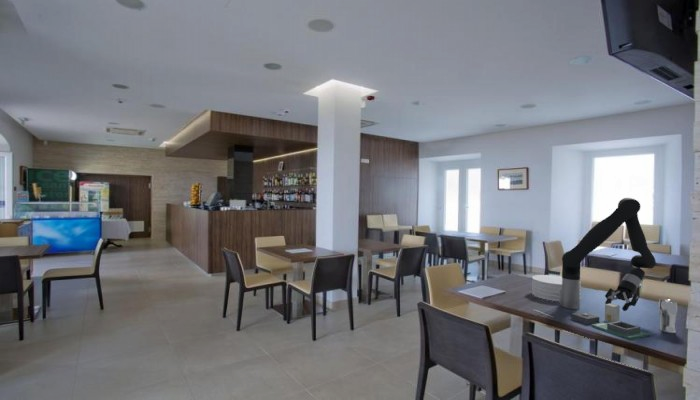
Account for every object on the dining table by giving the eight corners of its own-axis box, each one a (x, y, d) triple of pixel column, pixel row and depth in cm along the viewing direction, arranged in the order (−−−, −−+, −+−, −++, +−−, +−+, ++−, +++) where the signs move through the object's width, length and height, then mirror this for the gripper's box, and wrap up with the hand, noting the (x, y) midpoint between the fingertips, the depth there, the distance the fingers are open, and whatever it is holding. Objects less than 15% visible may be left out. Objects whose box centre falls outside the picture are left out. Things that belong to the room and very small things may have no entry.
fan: (571, 319, 194) (571, 312, 194) (582, 317, 197) (583, 310, 197) (587, 324, 186) (587, 317, 186) (599, 322, 189) (599, 315, 189)
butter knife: (536, 309, 210) (532, 309, 209) (578, 325, 185) (574, 325, 184) (536, 310, 210) (532, 310, 209) (578, 326, 185) (574, 326, 184)
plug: (603, 321, 191) (604, 304, 191) (610, 320, 193) (610, 303, 193) (612, 324, 187) (613, 306, 187) (619, 322, 189) (619, 305, 189)
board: (591, 326, 183) (591, 319, 183) (610, 323, 188) (610, 316, 188) (629, 339, 166) (629, 332, 166) (649, 335, 171) (649, 328, 171)
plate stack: (590, 303, 224) (590, 285, 224) (545, 302, 225) (545, 284, 225) (564, 291, 252) (564, 275, 252) (524, 290, 253) (524, 274, 253)
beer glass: (667, 328, 181) (668, 298, 181) (680, 333, 174) (681, 302, 174) (654, 328, 181) (654, 298, 181) (667, 333, 174) (667, 302, 174)
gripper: (612, 277, 200) (598, 299, 196) (640, 282, 187) (626, 307, 183) (618, 285, 202) (604, 308, 198) (647, 292, 189) (632, 316, 185)
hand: (615, 307), depth 191 cm, fingers open, 8 cm apart
